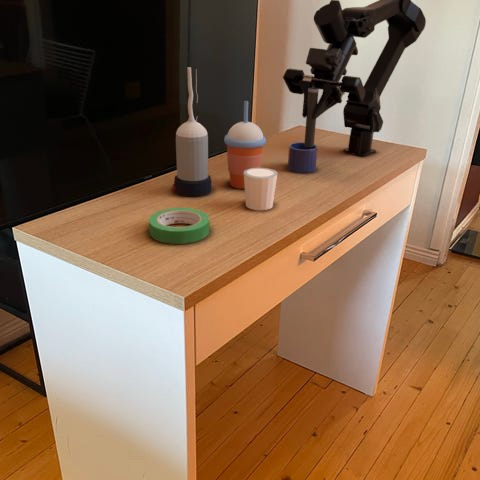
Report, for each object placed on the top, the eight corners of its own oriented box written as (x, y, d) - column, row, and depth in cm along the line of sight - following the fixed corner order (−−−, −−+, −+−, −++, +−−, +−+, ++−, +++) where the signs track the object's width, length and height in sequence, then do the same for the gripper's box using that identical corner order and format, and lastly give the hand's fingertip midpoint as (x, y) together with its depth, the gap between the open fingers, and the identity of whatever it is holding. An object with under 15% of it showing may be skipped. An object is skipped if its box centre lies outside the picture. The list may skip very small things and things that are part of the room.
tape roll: (159, 248, 101) (158, 234, 100) (142, 225, 110) (141, 211, 108) (218, 239, 105) (218, 225, 103) (197, 217, 113) (197, 204, 112)
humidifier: (166, 190, 126) (160, 66, 113) (193, 181, 131) (191, 62, 118) (191, 199, 122) (188, 72, 108) (219, 190, 127) (219, 67, 113)
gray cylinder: (308, 143, 135) (312, 87, 129) (315, 145, 134) (320, 88, 127) (302, 145, 134) (306, 88, 127) (309, 147, 133) (314, 90, 126)
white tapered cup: (279, 202, 122) (281, 169, 118) (270, 213, 116) (272, 179, 112) (248, 197, 123) (249, 165, 120) (238, 208, 118) (238, 175, 114)
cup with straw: (265, 179, 134) (269, 97, 124) (262, 192, 126) (266, 106, 117) (226, 177, 135) (227, 96, 125) (221, 190, 127) (221, 104, 117)
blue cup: (299, 162, 145) (301, 140, 142) (321, 169, 141) (323, 146, 139) (282, 168, 141) (283, 145, 138) (303, 175, 137) (305, 151, 134)
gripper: (289, 29, 129) (260, 89, 127) (366, 36, 120) (336, 100, 118) (304, 63, 138) (277, 119, 137) (376, 72, 129) (349, 132, 128)
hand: (308, 117), depth 129 cm, fingers closed on gray cylinder, 2 cm apart
